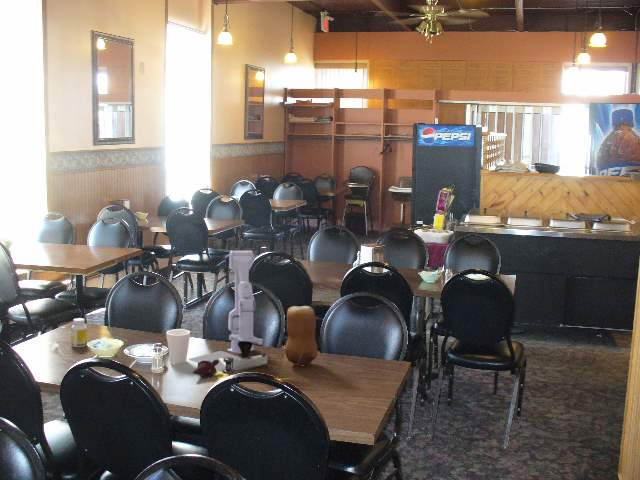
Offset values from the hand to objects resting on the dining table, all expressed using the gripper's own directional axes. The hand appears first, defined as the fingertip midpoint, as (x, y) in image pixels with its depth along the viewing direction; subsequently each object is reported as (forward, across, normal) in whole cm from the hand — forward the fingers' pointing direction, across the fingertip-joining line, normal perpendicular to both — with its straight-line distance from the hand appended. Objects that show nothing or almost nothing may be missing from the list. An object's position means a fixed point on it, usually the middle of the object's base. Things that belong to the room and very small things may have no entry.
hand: (245, 358), depth 320 cm
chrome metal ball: (+2, -1, -14) cm, 14 cm away
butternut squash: (+2, +21, +10) cm, 23 cm away
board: (+2, -8, -3) cm, 9 cm away
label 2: (+2, -4, -7) cm, 8 cm away
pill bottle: (+2, -75, -12) cm, 76 cm away
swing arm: (+1, +3, -7) cm, 8 cm away
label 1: (+2, -8, -2) cm, 8 cm away
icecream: (+2, -6, -22) cm, 23 cm away
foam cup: (+2, -25, -12) cm, 27 cm away
